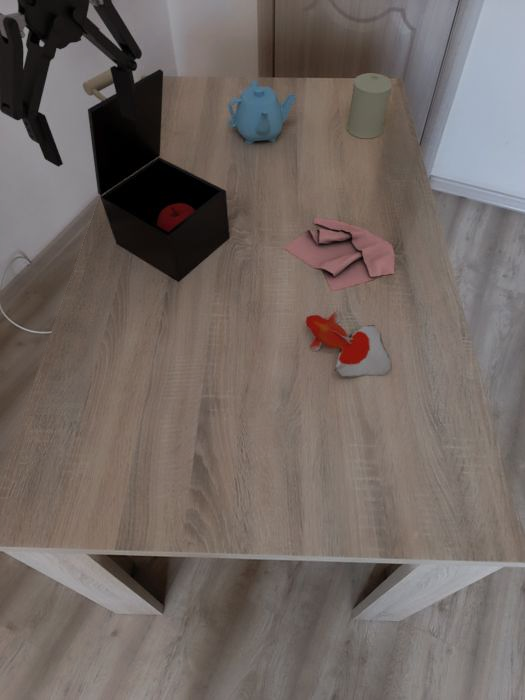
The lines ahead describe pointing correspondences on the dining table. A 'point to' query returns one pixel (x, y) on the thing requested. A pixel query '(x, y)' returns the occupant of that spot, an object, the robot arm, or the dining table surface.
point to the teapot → (259, 113)
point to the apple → (173, 215)
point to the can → (369, 105)
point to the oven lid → (124, 129)
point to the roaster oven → (145, 206)
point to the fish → (351, 346)
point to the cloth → (344, 253)
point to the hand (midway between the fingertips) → (93, 138)
